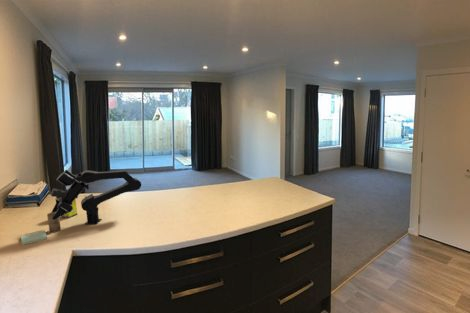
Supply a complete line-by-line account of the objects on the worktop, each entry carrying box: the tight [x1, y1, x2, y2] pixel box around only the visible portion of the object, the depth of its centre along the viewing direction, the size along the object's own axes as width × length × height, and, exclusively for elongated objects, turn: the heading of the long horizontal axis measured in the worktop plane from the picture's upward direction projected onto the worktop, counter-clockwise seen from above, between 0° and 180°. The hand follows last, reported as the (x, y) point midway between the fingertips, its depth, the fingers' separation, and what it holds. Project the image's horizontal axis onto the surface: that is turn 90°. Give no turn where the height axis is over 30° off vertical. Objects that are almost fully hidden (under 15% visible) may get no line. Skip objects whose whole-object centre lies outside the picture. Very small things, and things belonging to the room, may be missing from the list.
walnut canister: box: [46, 211, 62, 233], centre depth 157 cm, size 5×5×9 cm
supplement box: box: [61, 198, 78, 219], centre depth 178 cm, size 6×6×11 cm
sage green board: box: [20, 230, 48, 246], centre depth 149 cm, size 10×10×1 cm
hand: (52, 216), depth 156 cm, fingers open, 9 cm apart
